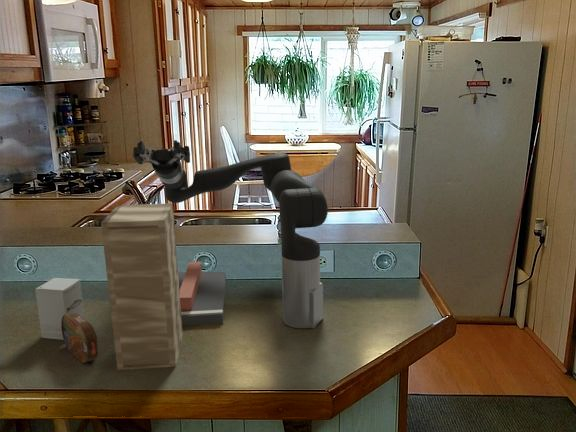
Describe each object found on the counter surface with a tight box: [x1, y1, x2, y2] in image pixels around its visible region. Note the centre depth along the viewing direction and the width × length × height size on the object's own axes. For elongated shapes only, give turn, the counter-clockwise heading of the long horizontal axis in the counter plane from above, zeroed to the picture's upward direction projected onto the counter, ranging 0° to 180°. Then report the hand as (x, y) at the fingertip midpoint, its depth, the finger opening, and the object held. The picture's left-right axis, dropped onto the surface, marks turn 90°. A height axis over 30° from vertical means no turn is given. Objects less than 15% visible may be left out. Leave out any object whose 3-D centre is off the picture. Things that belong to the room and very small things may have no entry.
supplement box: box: [34, 277, 86, 341], centre depth 124 cm, size 7×7×13 cm
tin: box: [61, 313, 99, 364], centre depth 115 cm, size 15×3×8 cm, turn 42°
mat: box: [178, 271, 227, 326], centre depth 142 cm, size 30×18×3 cm, turn 5°
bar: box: [180, 261, 203, 311], centre depth 143 cm, size 26×4×4 cm, turn 4°
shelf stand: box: [100, 202, 184, 371], centre depth 112 cm, size 14×12×32 cm
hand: (157, 144), depth 131 cm, fingers open, 8 cm apart
